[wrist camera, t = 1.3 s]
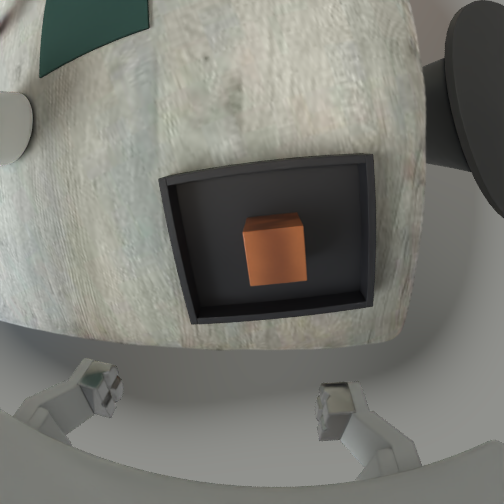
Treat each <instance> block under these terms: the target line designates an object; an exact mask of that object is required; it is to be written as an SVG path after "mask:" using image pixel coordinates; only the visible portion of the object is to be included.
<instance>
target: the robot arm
mask: <svg viewBox="0 0 504 504" xmlns="http://www.w3.org/2000/svg"><path fill="white" fill-rule="evenodd" d="M118 373H119V371H118V368H117V366H115V365H111V364H107V363H103V362H99V361H95V360H91V359H88V358H85V359H83V360H82V362H81V363H80V364H79V366H78V367H77V369H76V370H75V371H74V373H73V374H72V375H71V377H70V378H69V380H68V381H63V382H61V383H58V384H56V385H54V386H52V387H50V388H48V389H46V390H44V391H42V392H39V393H37V394H35V395H33V396H31V397H28V398H26V399H25V400H24V402H23V403H22V404H21V406H20V407H19V409H18V410H17V411H16V413H15V414H14V416H11V415H9V414H8V413H6V412H4V411H3V410H1V409H0V504H504V444H503V443H502V442H499V441H497V440H490V441H487V442H485V443H483V444H481V445H478V446H476V447H474V448H472V449H469V450H467V451H464V452H462V453H459V454H457V455H454V456H451V457H449V458H446V459H443V460H440V461H437V462H434V463H431V464H428V465H424V466H422V464H421V461H420V458H419V456H418V453H417V450H416V447H415V444H414V442H413V441H412V440H411V439H409V438H408V437H407V436H405V435H404V434H403V433H401V432H400V431H399V430H397V429H396V428H395V427H393V426H392V425H391V424H389V423H388V422H387V421H386V420H384V419H383V418H382V417H380V416H379V415H378V414H377V413H375V412H374V411H369V407H368V404H367V401H366V398H365V395H364V392H363V389H362V386H361V383H360V382H359V381H354V382H337V383H322V384H321V385H320V388H319V393H320V395H319V396H318V397H317V400H316V406H315V414H316V419H317V420H318V421H319V424H318V427H317V430H318V437H319V441H328V440H340V441H341V442H342V444H343V445H344V446H345V447H346V448H347V449H348V450H349V451H350V452H351V454H352V455H353V456H354V457H355V458H356V459H357V460H358V461H359V462H360V463H361V464H362V465H363V466H364V469H363V471H362V472H361V473H360V474H359V476H358V477H357V478H356V480H355V481H353V482H346V483H337V484H328V485H318V486H301V487H252V486H235V485H224V484H215V483H207V482H199V481H193V480H187V479H181V478H176V477H170V476H165V475H161V474H156V473H152V472H148V471H144V470H140V469H136V468H133V467H129V466H126V465H122V464H119V463H116V462H113V461H110V460H107V459H104V458H101V457H98V456H95V455H93V454H90V453H87V452H85V451H82V450H79V449H77V448H74V447H72V444H71V442H70V441H69V439H68V438H67V437H66V434H68V433H69V432H71V431H72V430H74V429H75V428H76V427H78V426H79V425H81V424H82V423H84V422H85V421H86V420H87V419H89V418H91V417H92V416H93V415H94V414H97V415H100V416H104V417H108V418H111V417H112V415H113V413H114V411H115V409H116V404H115V403H116V402H117V401H119V400H120V399H121V397H122V395H123V389H124V387H123V382H122V379H121V378H120V377H118V375H117V374H118Z"/></svg>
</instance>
